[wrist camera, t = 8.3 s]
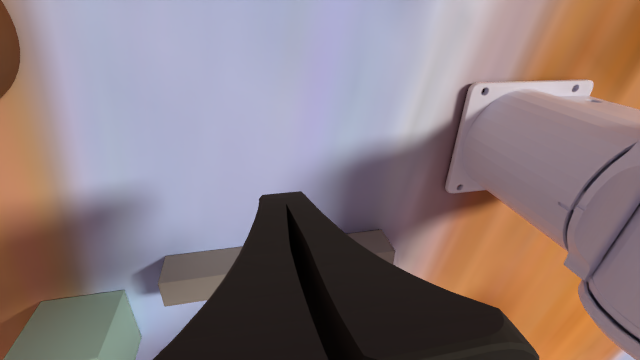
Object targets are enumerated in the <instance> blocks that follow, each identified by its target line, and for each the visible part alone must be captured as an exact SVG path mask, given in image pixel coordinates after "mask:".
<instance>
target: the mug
mask: <svg viewBox="0 0 640 360" xmlns="http://www.w3.org/2000/svg"><path fill="white" fill-rule="evenodd" d="M19 63H20V47H19V40H18V36H17V33H16V29H15V26H14V24H13V22H12V19H11V17H10V15H9V13H8V11H7V9H6V8H5V6H4V4H3V2H2V1H1V0H0V98H1V97H2V96H3V95H4V93H5V92H6V91H7V90H8V89H9V88H10V87H11V85H12V83H13V82H14V80H15V78H16V75H17V73H18V69H19Z"/></svg>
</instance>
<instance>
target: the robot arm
mask: <svg viewBox="0 0 640 360" xmlns="http://www.w3.org/2000/svg"><path fill="white" fill-rule="evenodd" d="M573 86H574V87H573ZM484 88H485V91H484V92H483V93H482V94H481V92H482V90H483V89H484ZM572 88H573V89H572ZM592 89H593V82H592V81H590V80H586V79H584V80H548V81H512V82H477V83H473V84H472V85H471V86H470V87H469V89H468V92H467V97H466V101H465V105H464V109H463V113H462V118H461V122H460V126H459V130H458V135H457V139H456V143H455V147H454V151H453V156H452V160H451V164H450V168H449V173H448V177H447V181H446V185H445V189H446V191H447V192H449V193H452V194H453V193H462V192H472V191H481V190H487V191H489V192H490V193H491V194H493V195H494V196H495V197H497V198H498V199H499V200H500V201H502V202H503V203H504V204H506V205H507V206H508V207H510V208H511V209H512V210H514V211H515V212H516V213H518V214H519V215H520V216H522V217H523V218H524V219H526V220H527V221H528V222H530V223H531V224H532V225H534V226H535V227H536V228H537V229H539V230H540V231H541V232H543V233H544V234H545V235H547V236H548V237H549V238H551V239H552V240H553V241H555V242H556V243H557V244H559V245H560V246H561V247H563V248H564V249H565V250H567V251H568V255H567V258H566V260H565V262H564V265H565V266H566V267H567V268H569V269H570V270H571V271H572V272H574V273H575V274H576V275H577V276H579V277H580V278H581V279H582V281H581V282H580V284H579V287H578V294H579V298H580V300H581V302H582V304H583V306H584V308H585V310H586V311H587V312H588V314H589V315H590V317H591V318H592V319H593V321H594V322H595V323H596V325H597V326H598V327H599V328H600V329H601V330H602V332H603V333H604V334H605V335H606V336H607V337H608V338H609V339H611V340H612V341H613V342H614V343H615V344H616V345H617V346H619V347H620V348H621V349H622V350H624V351H625V352H626V353H627V354H629V355H630V356H632V357H633V358H634V359H636V360H640V110H639V109H635V108H631V107H627V106H624V105H620V104H616V103H613V102H609V101H605V100H602V99H598V98H594V97H590V93H591V91H592ZM458 185H460V186H459V187H457V186H458ZM153 360H539V356H538V354H537V353H536V351H535V349H534V348H533V347H532V346H531V345H530V343H529V342H528V341H527V340H526V339H525V337H524V336H523V335H522V334H521V333H520V332H519V330H518V329H517V328H516V327H515V326H514V325H513V323H512V322H511V321H510V320H509V319H508V318H507V317H506V316H505V314H504V313H503V312H502V311H501V310H500V309H498V308H496V307H493V306H490V305H487V304H484V303H481V302H478V301H476V300H473V299H470V298H467V297H464V296H461V295H459V294H456V293H453V292H450V291H448V290H446V289H443V288H441V287H439V286H436V285H434V284H432V283H429V282H427V281H425V280H422V279H420V278H418V277H416V276H414V275H412V274H410V273H408V272H406V271H404V270H402V269H400V268H398V267H396V266H395V265H393V264H391V263H389V262H387V261H386V260H384V259H382V258H380V257H379V256H377V255H376V254H374V253H373V252H371V251H369V250H368V249H366V248H365V247H363V246H362V245H360V244H359V243H357V242H356V241H355V240H353V239H352V238H351V237H349V236H348V235H347V234H346V233H344V232H343V231H342V230H341V229H340V228H338V227H337V226H336V225H335V224H334V223H333V222H332V221H331V220H329V219H328V218H327V217H326V216H325V215H324V214H323V213H322V212H321V211H320V210H319V209H318V208H317V207H316V206H315V205H314V204H313V203H312V202H311V201H310V200H309V199H308V198H307V197H306V196H305V195H304V194H303V193H302V192H301V191H300V192H290V193H279V194H268V195H262V196H261V197H260V198H259V207H258V211H257V214H256V217H255V220H254V223H253V225H252V228H251V230H250V233H249V235H248V237H247V239H246V241H245V243H244V245H243V247H242V249H241V251H240V253H239V255H238V257H237V258H236V260H235V262H234V263H233V265H232V267H231V268H230V270H229V271H228V273H227V274H226V276H225V278H224V279H223V280H222V282H221V283H220V285H219V286H218V287H217V289H216V290H215V291H214V293H213V294H212V295H211V297H210V298H209V299H208V301H207V302H206V303H205V304H204V306H203V307H202V308H201V309H200V310H199V311H198V313H197V314H196V315H195V316H194V317H193V318H192V319H191V320H190V322H189V323H188V324H187V325H186V326H185V327H184V328H183V329H182V331H181V332H180V333H179V334H178V335H177V336H176V337H175V338H174V339H173V340H172V341H171V342H170V343H169V344H168V345H167V346H166V347H165V348H164V349H163V350H162V351H161V352H160V353H159V354H158V355H157V356H156V357H155V358H154V359H153Z"/></svg>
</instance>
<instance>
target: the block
mask: <svg viewBox="0 0 640 360" xmlns="http://www.w3.org/2000/svg"><path fill="white" fill-rule="evenodd" d="M140 341H141V334H140V331H139V329H138V326H137V323H136V320H135V318H134V315H133V312H132V310H131V307H130V304H129V301H128V299H127V296H126V293H125V291H124V290H120V291H113V292H106V293H99V294H92V295H84V296H77V297H70V298H63V299H56V300H49V301H41V302H40V304H39V305H38V307H37V309H36V310H35V312H34V313H33V315H32V316H31V318H30V319H29V321H28V322H27V324H26V325H25V327H24V328H23V330H22V332H21V333H20V335H19V336H18V338H17V339H16V341H15V342H14V344H13V345H12V347H11V348H10V350H9V351H8V353H7V355H6V356H5V358H4V359H3V360H135V358H136V355H137V351H138V348H139V344H140Z"/></svg>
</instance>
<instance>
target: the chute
mask: <svg viewBox="0 0 640 360" xmlns="http://www.w3.org/2000/svg"><path fill="white" fill-rule="evenodd" d="M347 235H348V236H349V237H351V238H352V239H353V240H355V241H356V242H357V243H359V244H360V245H362V246H363V247H365V248H366V249H368V250H369V251H371V252H373V253H374V254H376V255H377V256H379V257H380V258H382V259H384V260H386V261H387V262H389V263H391V264H393V260H394V254H395V250H394V248H393V247H392V245H391V244H390V242H389V240H388V239H387V237H386V236H385V234H384V233H383V231H382V230H374V231H365V232H357V233H349V234H347ZM241 249H242V247H236V248H228V249H219V250H211V251H203V252H195V253H187V254H179V255H171V256H165V260H164V263H163V267H162V271H161V274H160V278H159V281H158V286H159V289H160V293H161V296H162V300H163V303H164V306H172V305H178V304H185V303H191V302H198V301H204V300H208V299H209V298H210V297H211V295H212V294H213V293H214V291H215V290H216V289H217V287H218V286H219V285H220V283H221V282H222V280H223V279H224V278H225V276H226V274H227V273H228V271H229V270H230V268H231V267H232V265H233V263H234V262H235V260H236V258H237V257H238V255H239V253H240V251H241Z"/></svg>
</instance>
